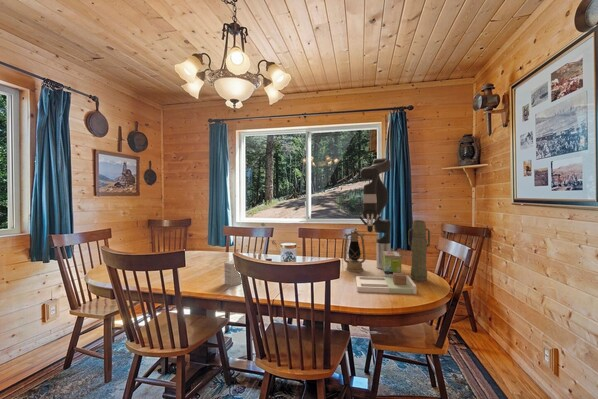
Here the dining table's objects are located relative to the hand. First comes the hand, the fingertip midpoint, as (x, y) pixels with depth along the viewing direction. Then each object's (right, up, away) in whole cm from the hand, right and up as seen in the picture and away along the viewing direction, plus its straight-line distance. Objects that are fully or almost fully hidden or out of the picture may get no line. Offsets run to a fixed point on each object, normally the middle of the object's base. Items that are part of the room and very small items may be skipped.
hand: (369, 232), depth 171 cm
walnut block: (+13, -27, -11) cm, 32 cm away
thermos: (+30, -29, +5) cm, 42 cm away
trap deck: (+6, -29, -9) cm, 31 cm away
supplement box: (-79, -30, 0) cm, 84 cm away
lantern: (-3, -29, +29) cm, 41 cm away
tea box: (+16, -29, +11) cm, 35 cm away
